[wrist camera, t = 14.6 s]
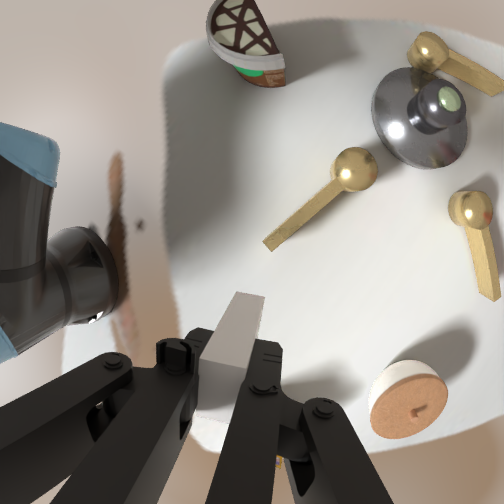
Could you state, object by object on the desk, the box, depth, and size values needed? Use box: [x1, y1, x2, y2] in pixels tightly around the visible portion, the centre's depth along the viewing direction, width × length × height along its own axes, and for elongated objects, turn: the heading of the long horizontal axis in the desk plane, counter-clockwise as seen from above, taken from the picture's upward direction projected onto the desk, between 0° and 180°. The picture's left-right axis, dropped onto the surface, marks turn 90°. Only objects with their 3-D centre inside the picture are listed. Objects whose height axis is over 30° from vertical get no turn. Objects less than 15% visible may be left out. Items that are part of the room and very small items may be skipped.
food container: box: [206, 0, 286, 88], centre depth 25 cm, size 12×6×10 cm, turn 18°
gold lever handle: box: [448, 191, 501, 302], centre depth 26 cm, size 14×4×5 cm, turn 28°
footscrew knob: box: [262, 147, 378, 252], centre depth 29 cm, size 14×4×5 cm, turn 133°
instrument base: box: [371, 31, 504, 169], centre depth 22 cm, size 18×18×9 cm
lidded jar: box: [369, 360, 448, 439], centre depth 29 cm, size 11×11×9 cm
